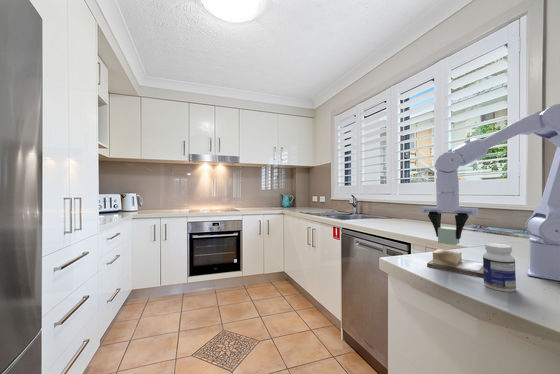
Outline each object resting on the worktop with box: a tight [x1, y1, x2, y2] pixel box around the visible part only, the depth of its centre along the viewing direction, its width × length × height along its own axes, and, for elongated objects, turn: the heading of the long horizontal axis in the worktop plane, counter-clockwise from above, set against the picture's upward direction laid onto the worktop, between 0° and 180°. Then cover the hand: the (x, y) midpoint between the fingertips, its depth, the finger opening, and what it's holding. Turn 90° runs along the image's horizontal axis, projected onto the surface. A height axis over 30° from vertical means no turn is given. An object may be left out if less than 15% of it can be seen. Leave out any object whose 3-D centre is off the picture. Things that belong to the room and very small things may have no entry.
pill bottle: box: [482, 242, 517, 293], centre depth 58 cm, size 6×6×10 cm
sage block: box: [437, 226, 460, 246], centre depth 76 cm, size 4×4×4 cm
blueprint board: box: [426, 248, 484, 278], centre depth 74 cm, size 14×12×4 cm
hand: (448, 237), depth 76 cm, fingers closed on sage block, 4 cm apart
